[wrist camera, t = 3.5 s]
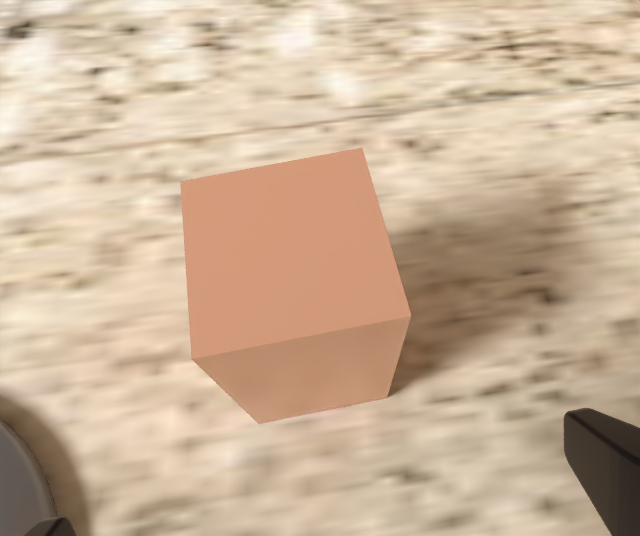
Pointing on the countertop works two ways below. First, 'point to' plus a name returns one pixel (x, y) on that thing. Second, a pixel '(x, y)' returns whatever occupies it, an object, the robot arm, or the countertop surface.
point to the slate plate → (21, 486)
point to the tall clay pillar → (293, 285)
